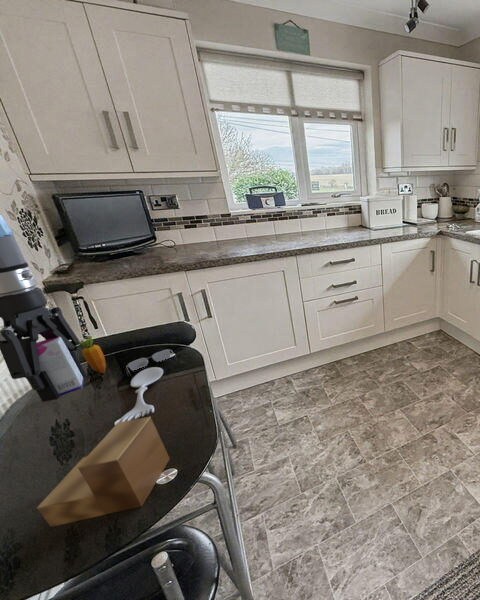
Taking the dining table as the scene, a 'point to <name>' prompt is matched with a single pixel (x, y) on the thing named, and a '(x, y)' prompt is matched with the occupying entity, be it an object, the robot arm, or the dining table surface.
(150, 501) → the dining table surface
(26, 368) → the robot arm
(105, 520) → the dining table surface
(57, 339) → the supplement box
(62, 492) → the wooden stepped block
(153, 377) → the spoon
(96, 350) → the carrot
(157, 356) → the eyeglasses
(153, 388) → the dining table surface
